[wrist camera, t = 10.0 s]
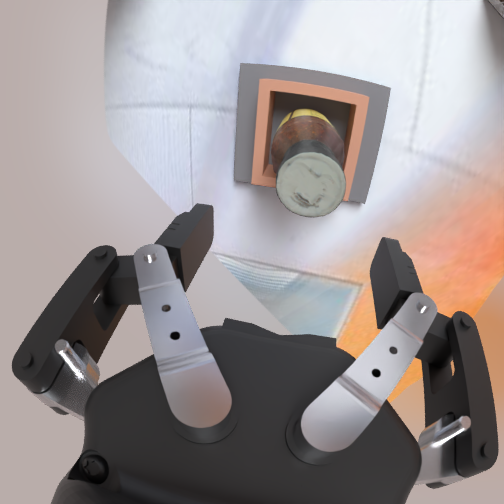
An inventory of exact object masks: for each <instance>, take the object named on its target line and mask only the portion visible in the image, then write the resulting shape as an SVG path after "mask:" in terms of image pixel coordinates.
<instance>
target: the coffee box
mask: <svg viewBox="0 0 504 504" xmlns="http://www.w3.org/2000/svg"><path fill="white" fill-rule="evenodd" d="M488 1H489V2H490V3H491V4H492V5H493V6H494V7H495V9H496V10H497V11H498V12H499V13H500V14H501V16H502V17H503V18H504V0H488Z"/></svg>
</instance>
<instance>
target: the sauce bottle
mask: <svg viewBox="0 0 504 504" xmlns="http://www.w3.org/2000/svg"><path fill="white" fill-rule="evenodd" d="M271 157H272V158H271V159H272V163H273V170H274V172H275V173H276V191H277V195H278V196H279V199H280V201H281V202H282V203H283V204H284V205H285V207H286V208H287V209H288V210H290V211H291V212H293V213H296V214H298V215H301V216H305V217H319V216H324V215H326V214H329V213H331V212H332V211H333V210H335V209H336V208H337V206H338V205H339V204H340V203H341V201H342V200H343V198H344V195H345V191H346V178H345V174H344V171H343V168H342V167H343V162H344V142H343V140H342V139H341V138H340V135H339V134H338V132H337V131H336V129H335V128H334V127H333V126H332V125H331V123H330V122H329V121H328V119H327V118H326V117H325V116H324V115H323V114H321V113H319V112H318V111H315V110H312V109H305V108H304V109H297V110H295V111H293V112H291V113H289V114H288V115H287V116H286V117H285V118H284V119H283V120H282V122H281V124H280V126H279V128H278V130H277V132H276V134H275V136H274V138H273V143H272V145H271Z"/></svg>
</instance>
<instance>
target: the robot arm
mask: <svg viewBox="0 0 504 504" xmlns="http://www.w3.org/2000/svg"><path fill="white" fill-rule="evenodd" d="M213 235H214V220H213V206H212V205H205V204H198V203H197V204H196V205H195V206H194V207H193V208H192V210H191V211H190V212H184V213H182V214H180V215H179V216H177V217H176V218H175V219H174V220H173V221H172V223H171V224H170V225H169V226H168V228H167V229H166V230H165V231H164V232H163V234H162V235H161V236H160V237H159V238H158V240H157V241H156V242H155V243H154V244H149V245H145V246H143V247H140V248H139V249H138V250H137V251H136V252H135V253H134V255H130V256H117V252H116V249H115V248H114V247H112V246H108V245H105V246H99V247H96V248H95V249H93V250H91V251H90V252H89V253H88V254H87V256H86V257H85V258H84V259H83V260H82V262H81V263H80V264H79V265H78V266H77V268H76V269H75V270H74V271H73V273H72V274H71V275H70V276H69V278H68V279H67V280H66V281H65V283H64V284H63V285H62V286H61V288H60V289H59V290H58V292H57V293H56V294H55V296H54V297H53V298H52V300H51V301H50V303H49V304H48V305H47V307H46V308H45V309H44V311H43V312H42V314H41V315H40V317H39V318H38V320H37V321H36V323H35V324H34V325H33V327H32V328H31V330H30V331H29V333H28V334H27V336H26V338H25V339H24V341H23V342H22V344H21V345H20V347H19V349H18V351H17V352H16V354H15V356H14V358H13V361H12V370H13V373H14V375H15V376H16V377H17V378H18V379H19V380H20V381H21V382H22V383H23V384H24V385H25V386H26V387H27V388H28V390H29V391H30V392H31V393H32V394H34V395H35V396H36V397H37V398H38V399H39V400H41V401H42V402H43V403H44V404H45V405H47V406H49V407H50V408H52V409H53V410H54V411H55V412H57V413H59V414H62V415H66V414H71V415H73V416H75V417H77V418H79V419H81V420H83V421H84V423H85V437H84V445H83V450H82V453H81V455H80V457H79V459H78V460H77V462H76V463H75V464H74V466H73V467H72V468H71V470H70V471H69V472H68V473H67V474H66V476H65V477H64V478H63V479H62V480H61V482H60V483H59V485H58V487H57V489H56V492H55V494H54V497H53V500H52V502H51V504H405V503H406V500H407V498H408V495H409V493H410V491H411V489H412V488H413V486H414V485H418V484H426V485H427V486H428V487H430V488H433V489H435V488H439V487H443V486H446V485H449V484H452V483H455V482H457V481H461V480H463V479H466V478H469V477H471V476H474V475H476V474H479V473H481V472H483V471H486V470H488V469H490V468H491V467H492V466H493V465H494V463H495V462H496V459H497V456H498V434H497V423H496V413H495V406H494V399H493V393H492V387H491V382H490V377H489V372H488V367H487V363H486V359H485V355H484V351H483V347H482V344H481V340H480V336H479V333H478V329H477V326H476V323H475V322H474V320H473V319H472V318H471V317H470V316H469V315H468V314H467V313H465V312H462V311H457V312H455V313H454V315H453V316H452V317H451V318H449V317H447V316H445V315H443V314H440V313H438V312H437V306H436V304H435V302H434V301H433V300H432V299H431V298H430V297H429V296H427V295H425V294H423V291H422V288H421V285H420V282H419V279H418V276H417V273H416V270H415V269H414V268H415V267H414V265H413V262H412V260H411V258H410V257H409V256H408V255H407V254H406V252H402V249H401V247H400V244H399V241H398V240H395V239H390V238H386V237H383V238H382V239H381V241H380V243H379V246H378V248H377V251H376V254H375V256H374V259H373V261H372V264H371V268H370V279H371V285H372V291H373V298H374V305H375V312H376V320H377V328H378V329H382V331H381V332H380V333H379V334H378V335H377V337H376V338H375V339H374V340H373V341H372V343H371V344H370V345H369V346H368V347H367V348H366V349H365V351H364V352H363V353H362V354H361V355H360V356H359V357H358V358H357V359H355V358H354V357H353V356H351V355H350V354H349V353H347V352H346V351H344V350H342V349H340V348H338V347H336V338H330V337H324V336H317V335H311V334H304V335H278V334H276V333H273V332H270V331H268V330H266V329H264V328H261V327H259V326H257V325H254V324H252V323H247V322H242V321H238V320H233V319H228V318H225V320H224V323H223V326H211V327H206V328H202V329H199V327H198V325H197V322H196V320H195V317H194V315H193V312H192V310H191V308H190V305H189V302H188V300H187V297H186V295H185V292H186V291H187V289H188V287H189V285H190V283H191V281H192V279H193V278H194V276H195V274H196V272H197V270H198V268H199V267H200V265H201V263H202V261H203V259H204V257H205V255H206V254H207V252H208V250H209V248H210V247H211V244H212V241H213ZM98 294H100V295H99V297H98V298H97V300H96V301H95V303H94V300H95V299H96V297H97V296H98ZM93 303H94V304H93ZM136 304H137V305H142V308H143V313H144V317H145V321H146V325H147V329H148V333H149V337H150V341H151V344H152V348H153V352H154V354H153V355H151V356H149V357H147V358H145V359H144V360H142V361H140V362H138V363H136V364H134V365H133V366H131V367H129V368H127V369H125V370H123V371H122V372H120V373H118V374H116V375H114V376H112V377H110V378H108V379H106V380H104V381H103V382H101V383H100V384H99V385H98V380H99V376H100V372H99V368H98V366H97V363H98V361H99V359H100V357H101V355H102V353H103V351H104V349H105V347H106V345H107V343H108V341H109V339H110V338H111V336H112V334H113V332H114V330H115V329H116V327H117V325H118V323H119V321H120V319H121V317H122V316H123V314H124V312H125V311H126V309H127V307H128V305H136ZM414 357H416V358H418V359H420V360H421V362H422V372H423V383H424V399H425V429H424V430H423V431H422V432H421V434H420V436H419V441H418V442H417V441H416V439H415V438H414V436H413V435H412V434H411V432H410V431H409V429H408V428H407V427H406V425H405V424H404V422H403V421H402V420H401V418H400V417H399V416H398V414H397V413H396V411H395V410H394V409H393V407H392V406H391V405H390V403H389V402H388V401H387V398H388V396H389V395H390V393H391V392H392V391H393V389H394V388H395V386H396V385H397V383H398V382H399V381H400V379H401V378H402V376H403V375H404V373H405V371H406V370H407V368H408V367H409V365H410V364H411V362H412V360H413V359H414ZM452 360H453V362H454V368H455V372H454V375H453V376H452V369H451V363H450V362H451V361H452Z"/></svg>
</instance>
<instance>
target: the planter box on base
mask: <svg viewBox="0 0 504 504" xmlns="http://www.w3.org/2000/svg"><path fill="white" fill-rule="evenodd" d="M390 90H391V88H389V87H386V86H382V85H379V84H375V83H371V82H367V81H363V80H359V79H355V78H351V77H346V76H342V75H337V74H332V73H326V72H321V71H315V70H308V69H301V68H294V67H285V66H275V65H264V64H247V63H240V77H239V92H238V108H237V125H236V144H235V164H234V180H235V181H242V182H249V183H251V184H254V185H261V186H268V187H274V188H276V173H275V172H274V170H273V163H272V159H271V158H272V157H271V145H272V143H273V138H274V136H275V134H276V132H277V130H278V128H279V126H280V124H281V122H282V120H283V119H284V118H285V117H286V116H287V115H288V114H289V113H291V112H293V111H295V110H297V109H304V108H305V109H312V110H315V111H318V112H319V113H321V114H323V115H324V116H325V117H326V118H327V119H328V121H329V122H330V123H331V125H332V126H333V127H334V128H335V129H336V131H337V132H338V134H339V135H340V138H341V139H342V140H343V142H344V162H343V167H342V168H343V171H344V174H345V178H346V191H345V195H344V198H343V200H344V201H348V200H350V201H355V202H359V203H364V204H365V202H366V198H367V194H368V191H369V187H370V183H371V180H372V176H373V172H374V168H375V164H376V159H377V155H378V151H379V146H380V142H381V137H382V133H383V128H384V123H385V118H386V113H387V107H388V101H389V96H390Z"/></svg>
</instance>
